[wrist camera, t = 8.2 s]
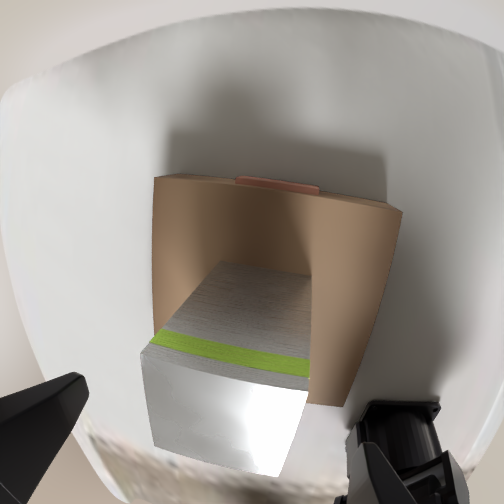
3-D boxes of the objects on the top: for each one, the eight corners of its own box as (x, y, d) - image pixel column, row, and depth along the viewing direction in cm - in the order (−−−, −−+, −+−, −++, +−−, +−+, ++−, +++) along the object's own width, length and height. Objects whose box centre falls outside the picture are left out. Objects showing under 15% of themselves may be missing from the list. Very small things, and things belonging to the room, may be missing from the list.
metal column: (312, 275, 14) (308, 392, 7) (295, 352, 16) (277, 477, 8) (220, 260, 15) (139, 353, 8) (214, 336, 16) (154, 446, 9)
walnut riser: (388, 197, 15) (403, 206, 13) (340, 377, 19) (342, 407, 16) (178, 168, 17) (154, 171, 14) (174, 345, 21) (157, 369, 18)
